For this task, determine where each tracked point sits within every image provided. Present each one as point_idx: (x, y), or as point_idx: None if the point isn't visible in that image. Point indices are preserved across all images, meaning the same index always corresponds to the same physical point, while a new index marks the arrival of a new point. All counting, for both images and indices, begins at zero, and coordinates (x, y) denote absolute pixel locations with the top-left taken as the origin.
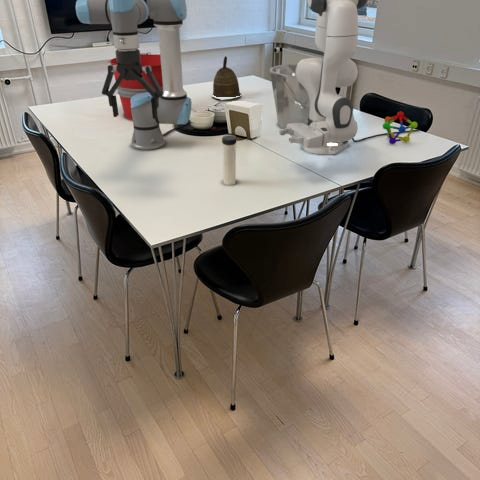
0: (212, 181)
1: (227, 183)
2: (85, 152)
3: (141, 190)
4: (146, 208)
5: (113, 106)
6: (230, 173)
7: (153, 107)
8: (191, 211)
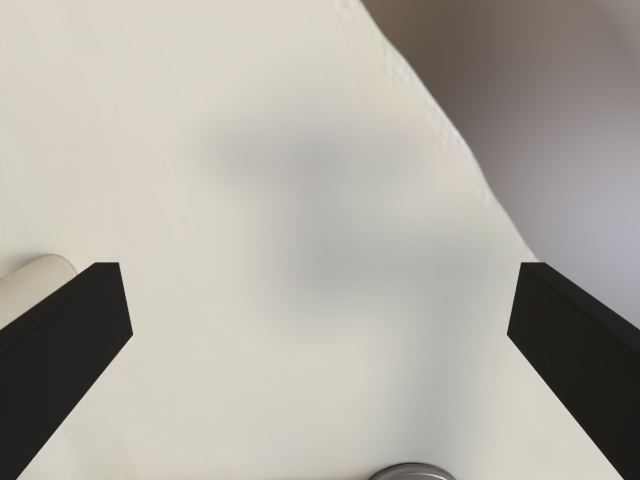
0: None
1: (51, 256)
2: None
3: (334, 175)
4: (269, 26)
5: (610, 323)
6: (12, 273)
7: (11, 329)
8: (95, 24)
